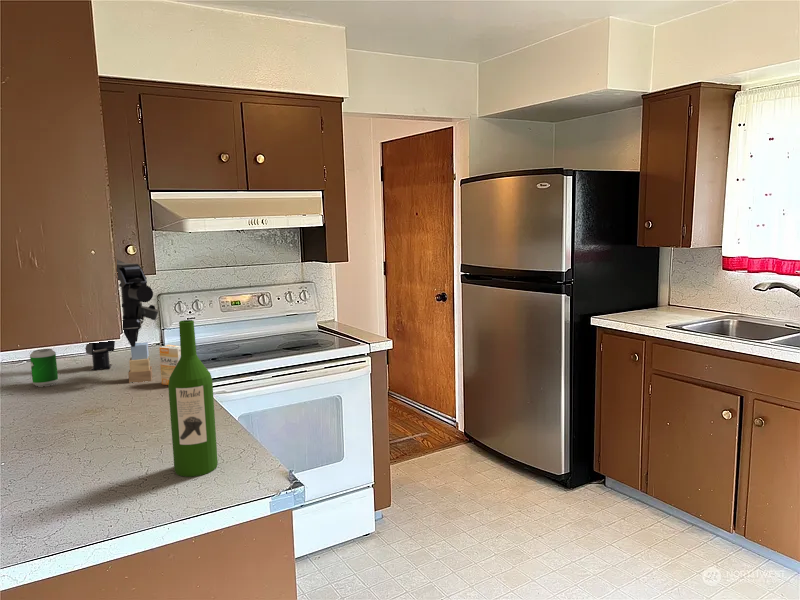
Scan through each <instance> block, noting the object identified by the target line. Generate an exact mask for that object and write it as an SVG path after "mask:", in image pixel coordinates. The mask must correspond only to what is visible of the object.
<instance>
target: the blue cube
mask: <svg viewBox="0 0 800 600" xmlns="http://www.w3.org/2000/svg"><path fill="white" fill-rule="evenodd" d="M130 353H131V357H132V360H140V359H148V356H149V357H150V355H149V354H150V353H149V343H148V341H145V342H136V343H135V347H131V346H130Z"/></svg>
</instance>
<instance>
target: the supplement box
mask: <svg viewBox="0 0 800 600" xmlns="http://www.w3.org/2000/svg"><path fill="white" fill-rule="evenodd" d="M180 357H181V348H180V345H173V344H165V345H162V346H159V364H160V365H159V367H160V380H161V381H160V382H161V385H164V386H165V385H166V386H168V384H169V378H170V376H171V374H172V372H173V370H174V369H175V367H176V365H177V363H178V361H179V360H180Z"/></svg>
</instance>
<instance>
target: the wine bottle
mask: <svg viewBox="0 0 800 600" xmlns="http://www.w3.org/2000/svg"><path fill="white" fill-rule="evenodd" d="M178 326H179V343H180V345H179V346H180V348H181V357H180V360H179V361H178V363H177V365H176V367H175V369H174V370H173V372H172V374H171V376H170V378H169V384H168V385H167V386H168V399H169V400H168V401H169V402H168V403H169V413H170V428H171V441H172V454H173V455H172V456H173V468H174V472H175V474H176V475H178V476H180V477H184V478H190V477H191V478H192V477H193V478H194V477H200V476H205V475H207V474H209V473H211V472H213V471H215V470H216V469H217V467H218V448H217V447H218V446H217V433H216V418H215V417H216V416H215V415H216V414H215V402H214V401H215V400H214V386H213V378H212V373H211V372H210V371H209V370H208V368H207V367H206V366H205V365H204V363H203V362H202V361H201V359H200V358H199V356H198V354H197V344H196V332H195V321H194V320H192V319H188V320H186V319H185V320H180V321H179V322H178Z"/></svg>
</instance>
